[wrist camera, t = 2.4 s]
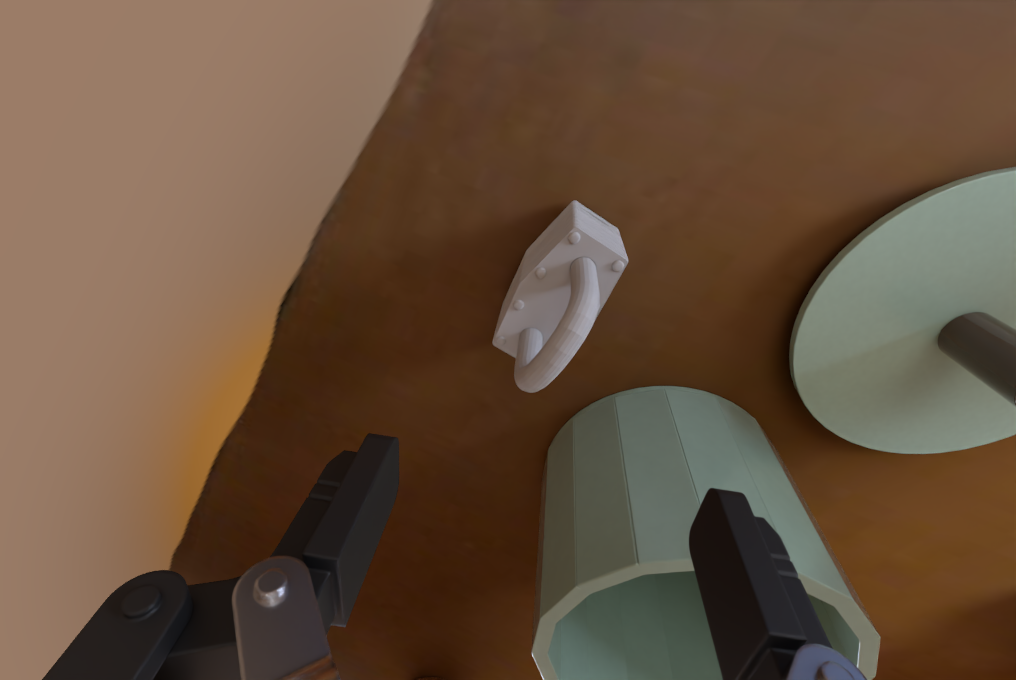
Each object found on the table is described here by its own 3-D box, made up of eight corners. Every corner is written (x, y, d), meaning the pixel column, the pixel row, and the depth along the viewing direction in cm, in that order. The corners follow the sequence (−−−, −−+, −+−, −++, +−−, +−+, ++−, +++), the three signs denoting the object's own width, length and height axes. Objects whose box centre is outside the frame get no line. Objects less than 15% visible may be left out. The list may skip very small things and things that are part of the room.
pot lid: (868, 140, 22) (968, 163, 16) (1243, 188, 21) (1477, 228, 16) (742, 418, 30) (780, 495, 24) (1010, 459, 29) (1110, 547, 24)
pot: (563, 368, 29) (561, 531, 19) (814, 406, 29) (954, 596, 18) (530, 531, 37) (516, 712, 26) (728, 564, 36) (793, 762, 26)
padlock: (564, 191, 24) (563, 258, 15) (628, 234, 25) (661, 321, 16) (493, 298, 27) (460, 402, 19) (551, 332, 28) (545, 449, 19)
